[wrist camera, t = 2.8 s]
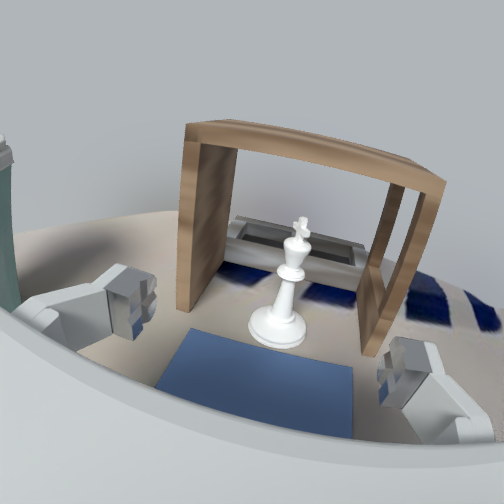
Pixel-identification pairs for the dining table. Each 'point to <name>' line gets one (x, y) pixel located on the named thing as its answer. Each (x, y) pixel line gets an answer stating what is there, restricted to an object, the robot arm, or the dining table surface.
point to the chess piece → (284, 297)
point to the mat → (262, 384)
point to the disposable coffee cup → (7, 235)
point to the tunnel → (273, 235)
